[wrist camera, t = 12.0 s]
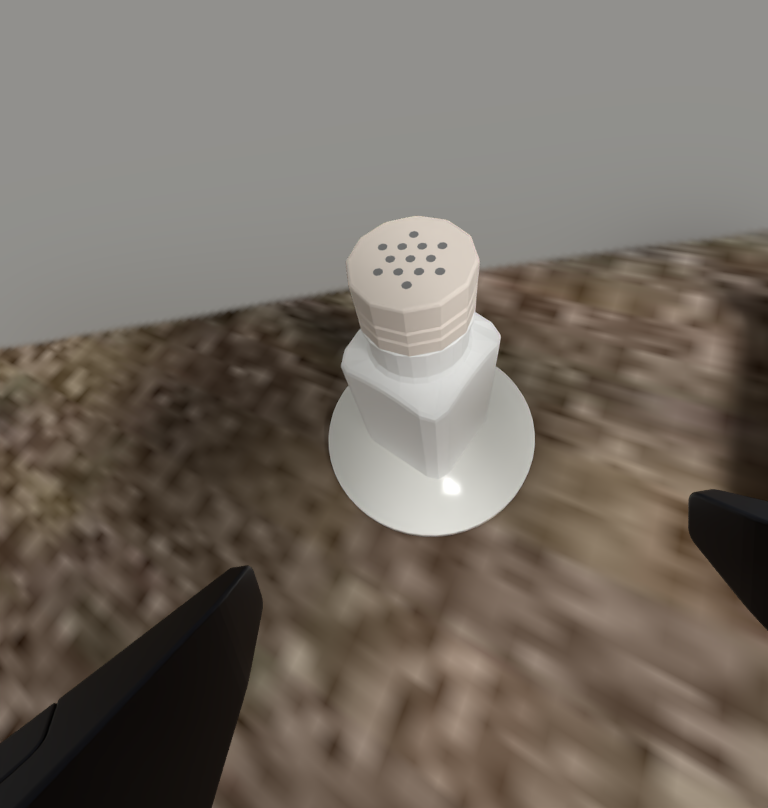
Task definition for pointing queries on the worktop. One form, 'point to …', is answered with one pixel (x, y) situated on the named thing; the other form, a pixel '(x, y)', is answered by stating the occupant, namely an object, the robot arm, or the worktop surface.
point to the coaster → (427, 497)
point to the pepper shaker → (419, 341)
